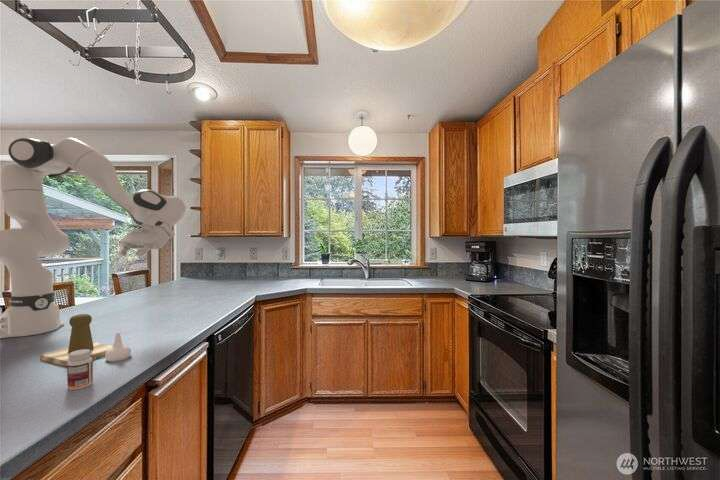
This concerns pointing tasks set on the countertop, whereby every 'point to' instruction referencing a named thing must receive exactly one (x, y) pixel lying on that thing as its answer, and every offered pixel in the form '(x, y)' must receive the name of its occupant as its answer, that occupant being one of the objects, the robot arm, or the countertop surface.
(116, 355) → the garlic bulb
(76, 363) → the pill bottle
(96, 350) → the birch board
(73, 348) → the cork
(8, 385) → the countertop surface
